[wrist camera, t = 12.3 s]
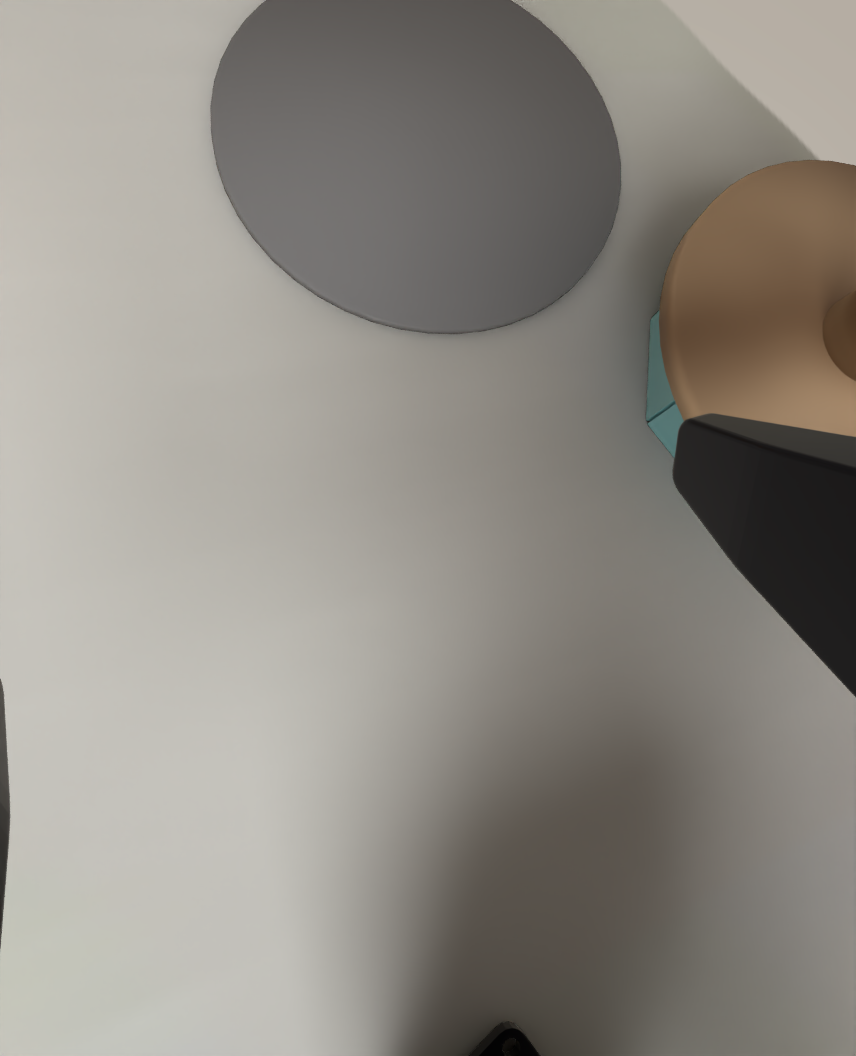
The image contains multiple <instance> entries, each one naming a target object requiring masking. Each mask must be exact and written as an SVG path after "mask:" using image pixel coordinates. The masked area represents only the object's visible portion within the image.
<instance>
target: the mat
mask: <svg viewBox="0 0 856 1056" xmlns="http://www.w3.org/2000/svg"><path fill="white" fill-rule="evenodd" d="M211 134H212V142H213V147H214V153H215V158H216V164H217V168H218V171H219V174H220V177H221V180H222V183H223V186H224V189H225V191H226V193H227V195H228V197H229V199H230V201H231V203H232V205H233V207H234V209H235V211H236V213H237V215H238V217H239V218H240V220H241V221H242V223H243V224H244V226H245V227H246V229H247V230H248V232H249V233H250V234H251V236H252V237H253V239H254V240H255V241H256V242H257V243H258V244H259V246H260V247H261V248H262V249H263V250H264V251H265V252H266V254H267V255H268V256H269V257H270V258H271V259H272V260H273V261H274V262H275V263H276V264H277V265H278V266H279V267H280V268H282V269H283V270H284V271H285V272H286V273H287V274H288V275H289V276H291V277H292V278H293V279H294V280H295V281H297V282H298V283H300V284H301V285H302V286H304V287H305V288H307V289H308V290H310V291H311V292H312V293H314V294H315V295H317V296H318V297H320V298H322V299H324V300H325V301H327V302H329V303H331V304H333V305H335V306H337V307H338V308H340V309H342V310H344V311H346V312H349V313H351V314H354V315H356V316H359V317H361V318H364V319H366V320H369V321H371V322H375V323H379V324H382V325H386V326H390V327H394V328H397V329H402V330H409V331H416V332H422V333H435V334H460V333H470V332H479V331H485V330H490V329H494V328H498V327H502V326H506V325H509V324H512V323H514V322H517V321H520V320H522V319H525V318H527V317H530V316H532V315H534V314H535V313H537V312H539V311H541V310H542V309H544V308H546V307H548V306H549V305H551V304H553V303H554V302H555V301H556V300H558V299H559V298H560V297H562V296H563V295H564V294H565V293H567V292H568V291H569V290H570V289H571V288H572V287H573V286H574V285H575V284H576V283H577V282H578V281H579V280H580V279H581V278H582V276H583V275H584V274H585V273H586V272H587V271H588V269H589V268H590V267H591V265H592V264H593V262H594V261H595V259H596V258H597V256H598V255H599V253H600V252H601V250H602V249H603V247H604V244H605V242H606V240H607V238H608V236H609V234H610V232H611V229H612V227H613V223H614V220H615V216H616V213H617V209H618V204H619V196H620V189H621V162H620V156H619V149H618V142H617V138H616V135H615V131H614V128H613V124H612V121H611V118H610V115H609V113H608V111H607V108H606V106H605V103H604V101H603V99H602V96H601V95H600V93H599V91H598V89H597V88H596V86H595V84H594V82H593V81H592V79H591V77H590V76H589V74H588V73H587V71H586V70H585V69H584V67H583V66H582V65H581V63H580V62H579V60H578V59H577V58H576V56H575V55H574V54H573V53H572V52H571V51H570V50H569V48H568V47H567V46H566V45H565V44H564V43H563V42H562V41H561V40H560V39H559V37H557V36H556V35H555V34H554V33H553V32H552V31H551V30H550V29H549V28H547V27H546V26H545V25H544V24H543V23H542V22H541V21H540V20H538V19H537V18H536V17H534V16H533V15H531V14H530V13H529V12H527V11H526V10H525V9H523V8H522V7H521V6H519V5H518V4H516V3H514V2H512V1H511V0H266V1H265V2H263V3H262V4H261V5H260V6H259V7H258V8H257V9H256V10H255V11H254V12H253V13H252V14H251V15H250V16H249V17H248V18H247V19H246V20H245V21H244V22H243V24H242V25H241V26H240V28H239V29H238V31H237V32H236V33H235V35H234V36H233V37H232V39H231V41H230V43H229V45H228V47H227V49H226V51H225V53H224V55H223V57H222V59H221V61H220V64H219V68H218V71H217V74H216V77H215V81H214V86H213V93H212V100H211Z"/></svg>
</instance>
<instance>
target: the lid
mask: <svg viewBox="0 0 856 1056" xmlns="http://www.w3.org/2000/svg"><path fill="white" fill-rule="evenodd" d="M659 333H660V347H661V352H662V358H663V363H664V368H665V373H666V376H667V379H668V382H669V385H670V389H671V392H672V395H673V398H674V400H675V402H676V405H677V407H678V409H679V411H680V413H681V416H682V418H683V420H684V421H685V420H686V419H689V418H693V417H696V416H700V415H703V414H708V413H715V414H721V415H727V416H733V417H739V418H745V419H751V420H757V421H763V422H769V423H775V424H781V425H787V426H793V427H799V428H805V429H811V430H817V431H823V432H829V433H835V434H841V435H847V436H853V437H856V166H855V165H850V164H844V163H839V162H833V161H819V160H803V161H792V162H785V163H781V164H777V165H773V166H768V167H766V168H763V169H761V170H758V171H756V172H753V173H751V174H749V175H747V176H745V177H744V178H742V179H740V180H739V181H737V182H735V183H734V184H732V185H731V186H729V187H728V188H727V189H726V190H725V191H724V192H723V193H721V194H720V195H719V196H718V197H717V198H716V199H715V200H714V201H713V202H712V203H711V204H710V205H709V206H708V207H707V209H706V210H705V211H704V212H703V213H702V214H701V215H700V216H699V217H698V219H697V220H696V221H695V222H694V223H693V225H692V226H691V227H690V228H689V230H688V231H687V232H686V233H685V235H684V236H683V238H682V239H681V241H680V243H679V245H678V246H677V248H676V250H675V252H674V253H673V256H672V259H671V261H670V264H669V266H668V269H667V272H666V274H665V279H664V283H663V288H662V293H661V298H660V311H659Z"/></svg>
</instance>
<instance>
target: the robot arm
mask: <svg viewBox="0 0 856 1056" xmlns="http://www.w3.org/2000/svg"><path fill="white" fill-rule="evenodd" d="M673 480H674V484H675V486H676V488H677V490H678V491H679V493H680V494H681V495H682V497H683V498H684V499H685V501H686V502H687V503H688V505H689V506H690V507H691V509H692V510H693V511H694V513H695V514H696V515H697V517H698V518H699V519H700V521H701V522H702V523H703V525H704V526H705V527H706V529H707V530H708V531H709V533H710V534H711V535H712V537H713V538H714V539H715V541H716V542H717V543H718V545H719V546H720V547H721V549H722V550H723V551H724V553H725V554H726V555H727V557H728V558H729V559H730V560H731V562H732V563H733V564H734V565H735V567H736V568H737V569H738V570H739V571H740V572H741V574H742V575H743V576H744V577H745V578H746V579H747V580H748V581H749V583H750V584H751V585H752V586H753V587H754V588H755V589H756V590H757V591H758V592H759V593H760V594H761V595H762V597H763V598H764V599H765V600H766V601H767V602H768V603H769V604H770V605H771V606H772V607H773V608H774V610H775V611H776V612H777V613H778V614H779V615H780V616H781V617H782V618H783V619H784V620H785V621H786V622H787V624H788V625H789V626H790V627H791V628H792V629H793V630H794V631H795V632H796V633H797V634H798V635H799V637H800V638H801V639H802V640H803V641H804V642H805V643H806V644H807V645H808V646H809V647H810V648H811V649H812V651H813V652H814V653H815V654H816V655H817V656H818V657H819V658H820V659H821V660H822V661H823V662H824V664H825V665H826V666H827V667H828V668H829V669H830V670H831V671H832V672H833V673H834V674H835V675H836V676H837V678H838V679H839V680H840V681H841V682H842V683H843V684H844V685H845V686H846V687H847V688H848V689H849V691H850V692H851V693H852V694H853V695H854V696H855V697H856V437H853V436H847V435H841V434H835V433H829V432H823V431H817V430H811V429H805V428H799V427H793V426H787V425H781V424H775V423H769V422H763V421H757V420H751V419H745V418H739V417H733V416H727V415H721V414H715V413H708V414H703V415H700V416H696V417H693V418H689V419H686V420H685V421H684V422H683V423H682V424H681V425H680V427H679V430H678V435H677V443H676V450H675V457H674V465H673ZM9 831H10V793H9V776H8V758H7V741H6V723H5V706H4V691H3V686H2V682H1V679H0V947H1V934H2V922H3V909H4V897H5V884H6V872H7V859H8V846H9ZM509 1038H515V1039H516V1040H515V1046H514V1048H513V1049H512V1050H510V1051H509V1052H504V1051H502V1049H503V1044H504V1042H505V1041H506V1040H507V1039H509ZM469 1056H540V1054H539V1053H538V1052H537V1050H536V1049H535V1048H534V1046H533V1045H532V1044H531V1042H530V1041H529V1040H528V1038H527V1037H526V1036H525V1034H524V1033H523V1032H522V1030H521V1029H520V1028H519V1027H518V1026H517V1025H516V1024H515V1023H512V1022H504V1023H501V1024H499V1025H498V1026H497V1027H495V1028H494V1030H493V1031H492V1032H491V1033H490V1034H489V1035H488V1036H487V1037H486V1038H485V1039H484V1040H483V1041H482V1042H481V1043H480V1044H479V1045H478V1046H477V1047H476V1048H475V1049H474V1050H473V1051H472V1052H471V1053H470V1055H469Z"/></svg>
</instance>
